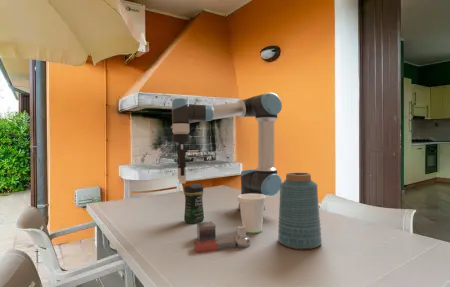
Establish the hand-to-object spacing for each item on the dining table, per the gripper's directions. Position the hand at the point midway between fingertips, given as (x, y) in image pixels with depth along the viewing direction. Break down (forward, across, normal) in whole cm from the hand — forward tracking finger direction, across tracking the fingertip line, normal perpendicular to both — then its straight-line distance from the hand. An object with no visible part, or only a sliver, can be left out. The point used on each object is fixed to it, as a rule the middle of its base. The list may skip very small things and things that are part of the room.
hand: (181, 181), depth 121 cm
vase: (+22, +26, +44) cm, 55 cm away
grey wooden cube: (+22, +13, +9) cm, 27 cm away
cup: (+22, +8, +30) cm, 38 cm away
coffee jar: (+22, -13, +7) cm, 27 cm away
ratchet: (+22, +23, +14) cm, 35 cm away
